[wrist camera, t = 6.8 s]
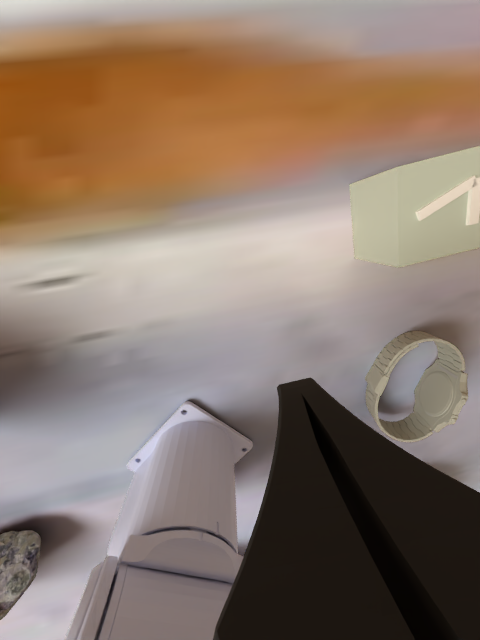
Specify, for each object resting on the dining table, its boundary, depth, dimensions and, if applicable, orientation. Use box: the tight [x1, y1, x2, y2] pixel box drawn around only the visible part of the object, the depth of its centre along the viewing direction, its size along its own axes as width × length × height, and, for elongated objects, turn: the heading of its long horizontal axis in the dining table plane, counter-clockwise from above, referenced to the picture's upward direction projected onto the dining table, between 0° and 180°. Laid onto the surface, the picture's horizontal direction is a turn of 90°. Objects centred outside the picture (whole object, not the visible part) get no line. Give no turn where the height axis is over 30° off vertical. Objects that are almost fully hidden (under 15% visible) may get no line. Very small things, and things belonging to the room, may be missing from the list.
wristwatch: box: [365, 331, 468, 442], centre depth 20 cm, size 9×6×5 cm
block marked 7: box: [349, 146, 480, 268], centre depth 15 cm, size 5×5×5 cm
